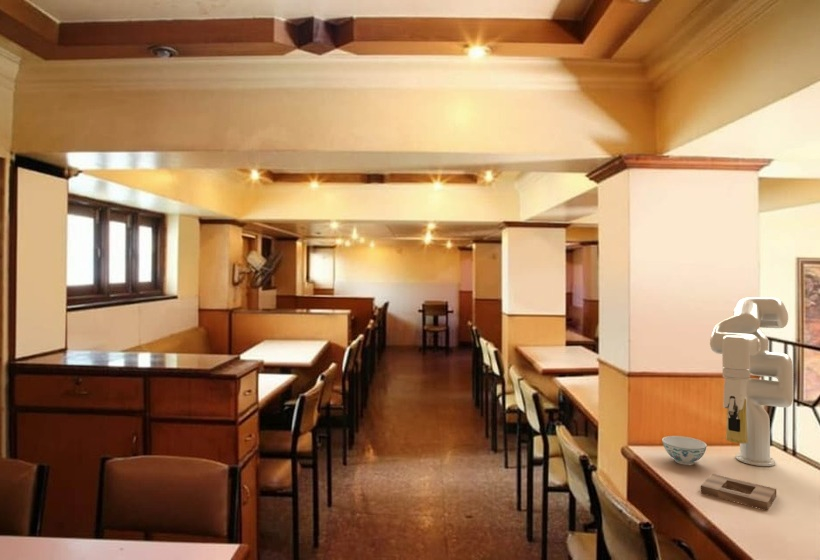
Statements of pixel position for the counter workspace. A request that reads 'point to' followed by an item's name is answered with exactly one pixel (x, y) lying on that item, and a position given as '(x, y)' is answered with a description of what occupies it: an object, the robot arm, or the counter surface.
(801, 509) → the counter surface
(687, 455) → the chinaware
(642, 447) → the counter surface
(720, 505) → the counter surface
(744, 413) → the vase
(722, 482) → the vase stand
